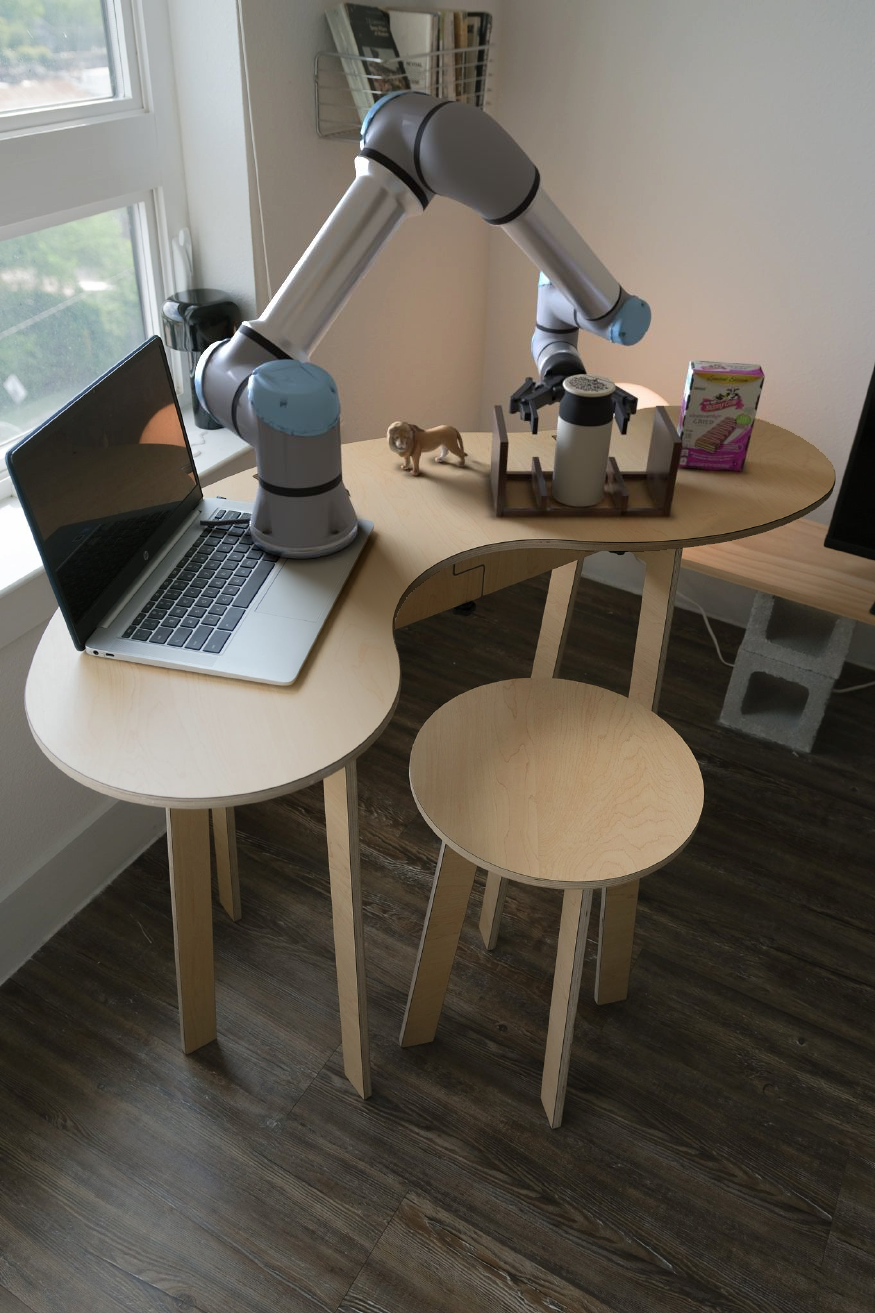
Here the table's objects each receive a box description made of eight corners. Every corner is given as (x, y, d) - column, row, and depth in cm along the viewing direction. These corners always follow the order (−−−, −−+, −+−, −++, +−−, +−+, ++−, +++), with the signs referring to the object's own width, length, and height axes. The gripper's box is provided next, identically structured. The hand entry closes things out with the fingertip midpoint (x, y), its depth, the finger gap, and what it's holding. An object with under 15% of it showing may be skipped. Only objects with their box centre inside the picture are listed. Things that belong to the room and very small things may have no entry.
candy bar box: (674, 469, 162) (691, 370, 152) (671, 455, 166) (688, 359, 156) (744, 473, 161) (766, 374, 151) (740, 459, 165) (761, 362, 155)
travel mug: (579, 513, 150) (592, 399, 139) (540, 494, 154) (550, 382, 143) (613, 497, 154) (628, 384, 143) (574, 479, 159) (586, 369, 148)
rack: (496, 516, 149) (500, 441, 141) (490, 476, 159) (493, 404, 152) (669, 516, 149) (682, 442, 142) (652, 476, 160) (663, 405, 152)
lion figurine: (396, 485, 156) (396, 431, 151) (380, 471, 160) (379, 418, 154) (475, 464, 162) (478, 411, 157) (458, 451, 166) (459, 400, 161)
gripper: (633, 394, 171) (658, 449, 154) (487, 394, 170) (496, 449, 153) (639, 351, 166) (666, 402, 149) (489, 351, 165) (499, 402, 148)
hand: (580, 426), depth 151 cm, fingers open, 13 cm apart
